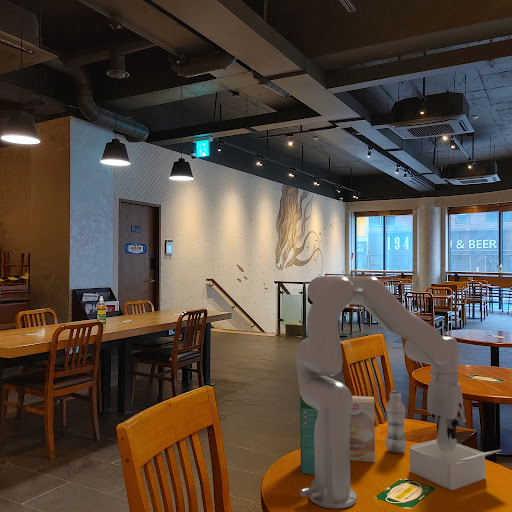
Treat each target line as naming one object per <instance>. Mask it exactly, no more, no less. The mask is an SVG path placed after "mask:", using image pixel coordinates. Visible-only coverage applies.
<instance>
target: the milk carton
mask: <svg viewBox="0 0 512 512" xmlns="http://www.w3.org/2000/svg"><path fill="white" fill-rule="evenodd" d="M299 401H300V402H299V408H300V411H299V412H300V413H299V415H300V416H299V419H300V423H299V424H300V426H299V429H300V430H299V433H300V474H303V473H308V474H307V475H315V442H314V429H315V423H316V420H317V416H318V411H317V410H316V409H314V408H312V407H310V406H309V405H308V404H306V403H305V402H304V400H303V399H302V397H301V394H300V393H299Z"/></svg>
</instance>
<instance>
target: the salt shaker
mask: <svg viewBox="0 0 512 512" xmlns="http://www.w3.org/2000/svg"><path fill="white" fill-rule="evenodd" d="M452 422H453V420H452ZM447 428H449V426H448V418H445V417H441V416H440V419H439V428H438V434H437V433H436V439H435V440H437V444H438V446H439V448H440V449H441V450H443V451H447V452H448V451H453V450H454V448H455V446H456V445H457V443H458V440H457V438H456V439H452V438H451V433H450V438H449V439H448V434H447Z"/></svg>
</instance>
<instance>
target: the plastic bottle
mask: <svg viewBox="0 0 512 512" xmlns="http://www.w3.org/2000/svg"><path fill="white" fill-rule="evenodd" d="M388 397H389V400H388V402H387V403H386V405H385V412H386V422H387V433H386V439H385V446H386V450H388V451H389V452H390V453H395V454H402V453H404V452H405V451H406V448H407V443H406V442H407V441H406V438H405V429H404V428H405V416H406V406H405V405H404V403H403V402H402V394H401V391H394V390H393V391H392V390H391V391H389V396H388Z"/></svg>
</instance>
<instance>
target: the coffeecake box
mask: <svg viewBox="0 0 512 512" xmlns="http://www.w3.org/2000/svg"><path fill="white" fill-rule="evenodd" d="M352 399H353V405H352V411H351V417H350V461H355V462H365V463H376V438H375V437H376V435H375V434H376V431H375V430H376V426H375V425H376V423H375V422H376V421H375V420H376V419H375V418H376V417H375V409H376V408H375V397H374V396H361V395H359V396H358V395H352Z"/></svg>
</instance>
